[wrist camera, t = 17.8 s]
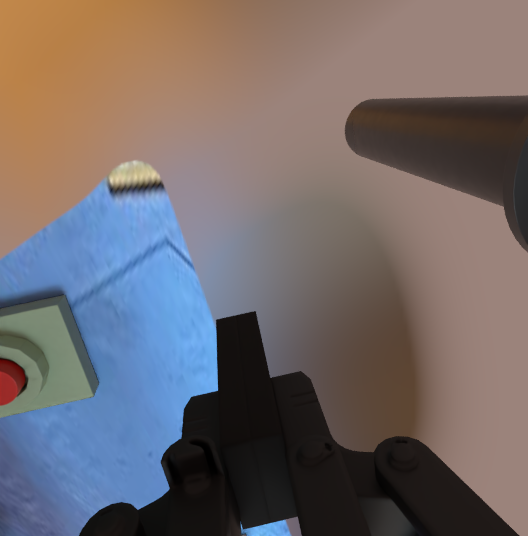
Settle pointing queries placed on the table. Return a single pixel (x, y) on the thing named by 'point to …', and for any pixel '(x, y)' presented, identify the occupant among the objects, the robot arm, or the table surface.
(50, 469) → the table surface
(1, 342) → the block
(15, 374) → the power button
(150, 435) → the table surface
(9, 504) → the table surface
